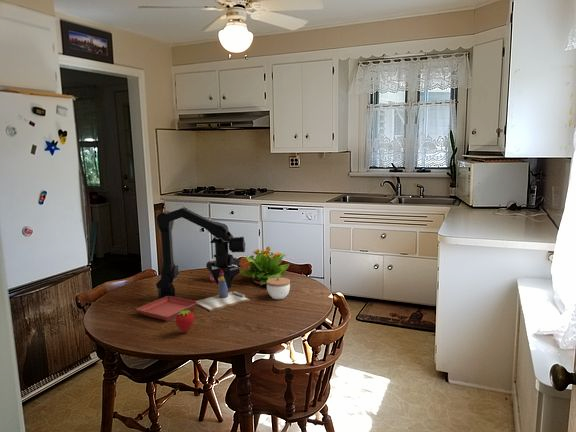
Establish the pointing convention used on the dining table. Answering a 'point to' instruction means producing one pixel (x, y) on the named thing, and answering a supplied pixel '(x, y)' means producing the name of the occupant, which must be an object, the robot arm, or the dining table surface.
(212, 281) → the canned food
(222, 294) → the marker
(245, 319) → the dining table surface
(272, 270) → the potted flower
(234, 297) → the clipboard
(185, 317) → the strawberry
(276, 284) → the lidded jar
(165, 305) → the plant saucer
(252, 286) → the dining table surface
